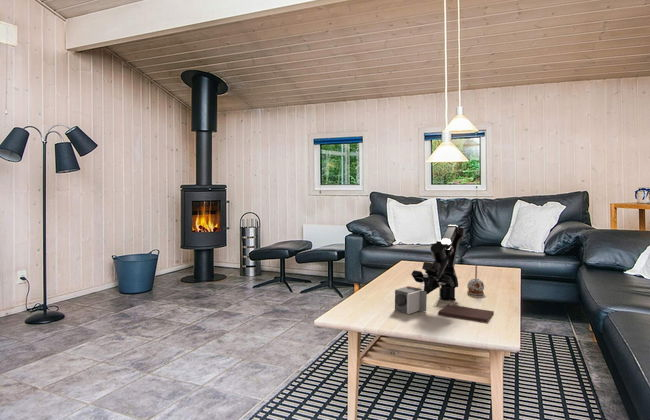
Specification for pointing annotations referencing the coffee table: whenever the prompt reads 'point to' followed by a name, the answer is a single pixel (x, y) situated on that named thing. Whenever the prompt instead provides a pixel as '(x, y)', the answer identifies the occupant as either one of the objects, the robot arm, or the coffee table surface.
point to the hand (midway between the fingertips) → (424, 294)
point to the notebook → (466, 313)
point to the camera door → (416, 301)
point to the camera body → (403, 298)
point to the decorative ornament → (475, 285)
